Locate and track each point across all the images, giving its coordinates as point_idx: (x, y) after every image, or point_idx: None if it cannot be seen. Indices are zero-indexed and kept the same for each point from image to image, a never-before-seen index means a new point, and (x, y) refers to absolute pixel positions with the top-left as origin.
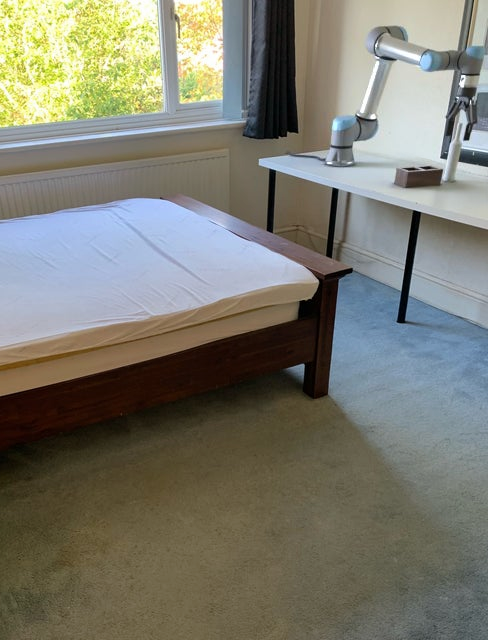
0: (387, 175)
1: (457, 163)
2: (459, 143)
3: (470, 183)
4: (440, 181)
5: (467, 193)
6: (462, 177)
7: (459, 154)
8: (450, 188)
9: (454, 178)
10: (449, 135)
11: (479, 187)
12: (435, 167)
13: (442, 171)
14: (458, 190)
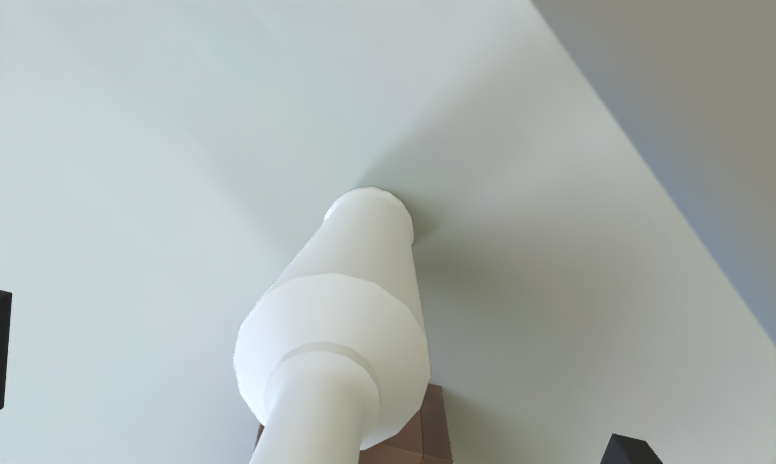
0: (18, 452)
1: (405, 239)
2: (416, 391)
3: (538, 165)
4: (442, 404)
5: (716, 426)
6: (346, 32)
7: (410, 270)
8: (553, 407)
9: (408, 213)
10: (1, 337)
11: (666, 219)
12: (360, 462)
13: (450, 453)
14: (625, 408)
